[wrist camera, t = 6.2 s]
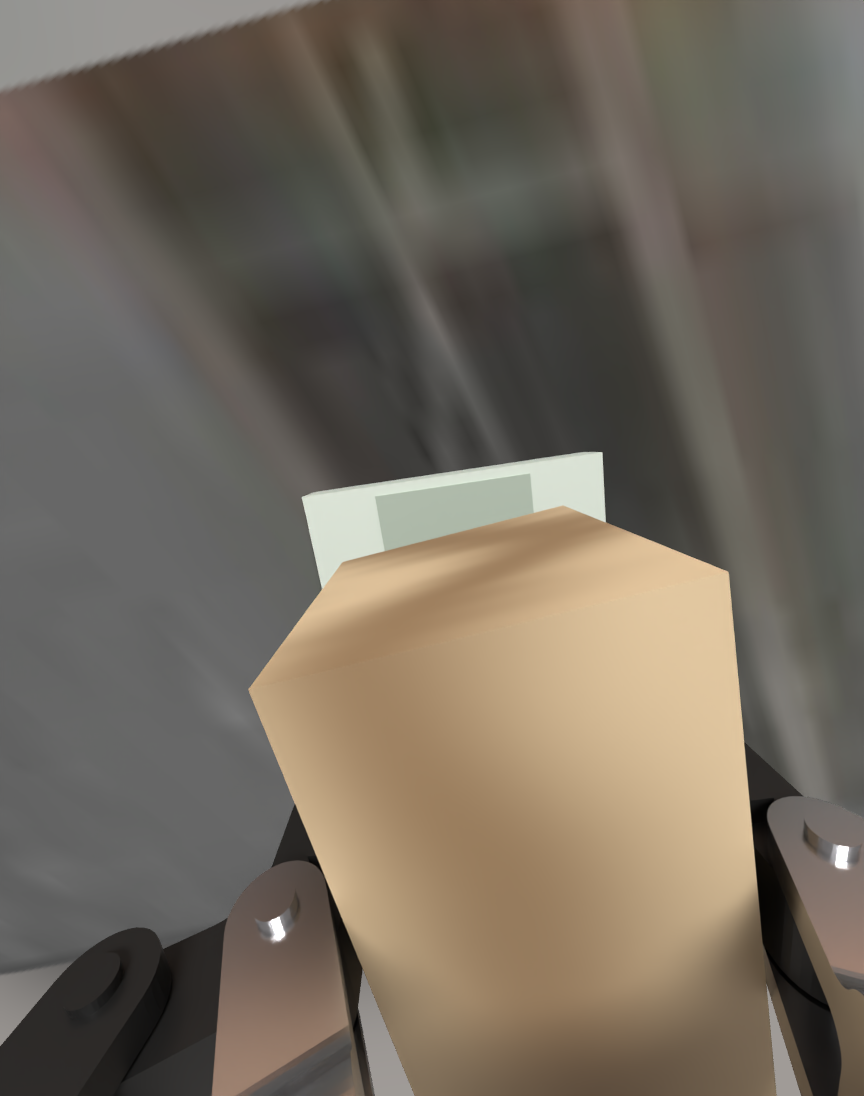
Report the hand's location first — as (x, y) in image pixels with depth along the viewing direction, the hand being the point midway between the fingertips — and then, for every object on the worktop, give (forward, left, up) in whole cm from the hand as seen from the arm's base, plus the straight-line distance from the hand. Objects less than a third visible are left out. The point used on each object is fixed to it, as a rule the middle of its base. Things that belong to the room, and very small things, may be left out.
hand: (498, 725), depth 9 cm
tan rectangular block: (0, 0, -1) cm, 1 cm away
